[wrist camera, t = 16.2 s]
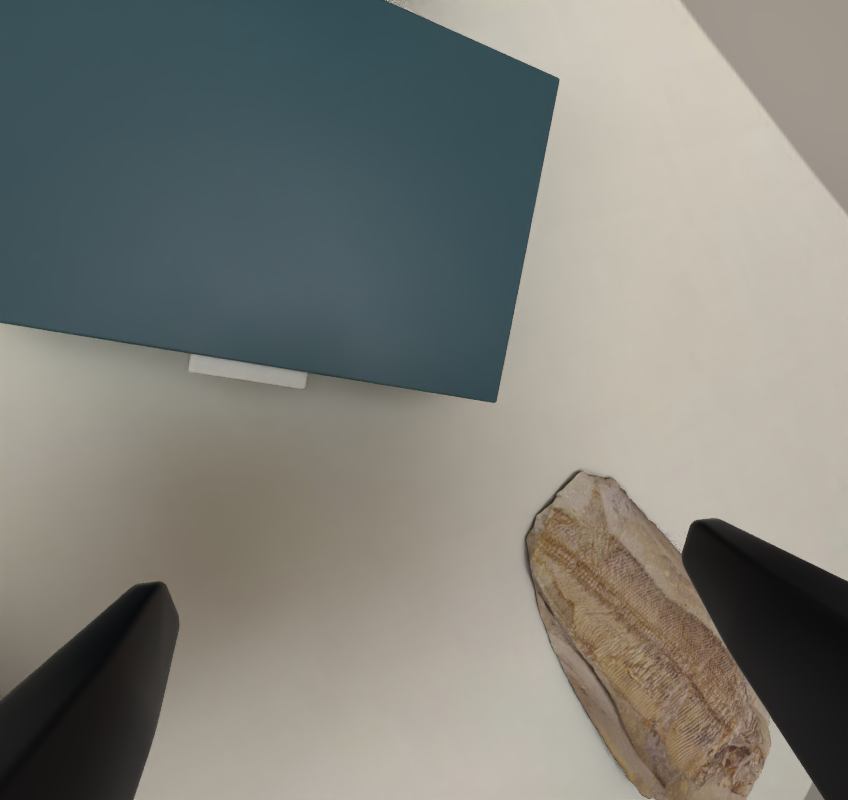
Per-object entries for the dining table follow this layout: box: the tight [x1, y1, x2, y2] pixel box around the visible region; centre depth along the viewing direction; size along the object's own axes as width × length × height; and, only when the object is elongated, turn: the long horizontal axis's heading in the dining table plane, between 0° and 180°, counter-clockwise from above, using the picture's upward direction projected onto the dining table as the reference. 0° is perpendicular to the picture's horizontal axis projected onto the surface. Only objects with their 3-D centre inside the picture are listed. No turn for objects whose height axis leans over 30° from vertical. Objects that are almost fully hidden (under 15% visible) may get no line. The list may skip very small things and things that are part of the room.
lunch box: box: [0, 0, 559, 403], centre depth 15 cm, size 15×12×5 cm
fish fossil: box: [526, 471, 771, 800], centre depth 26 cm, size 26×10×1 cm, turn 42°
